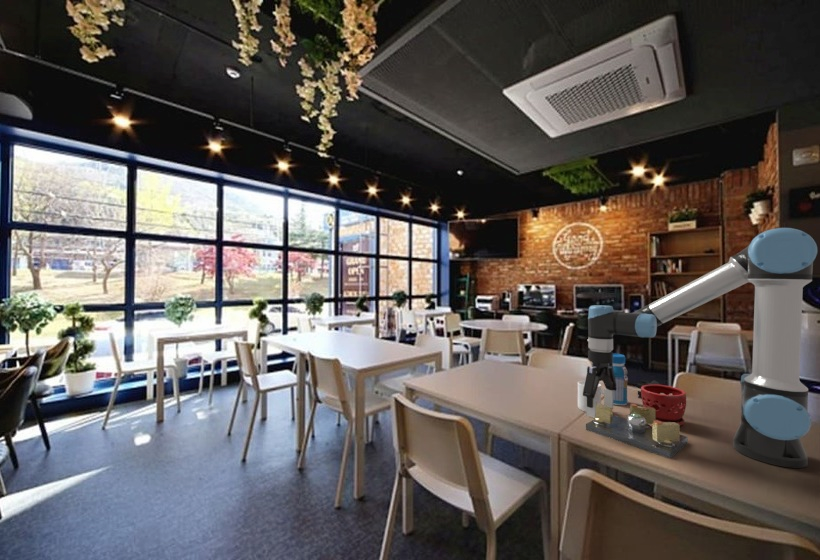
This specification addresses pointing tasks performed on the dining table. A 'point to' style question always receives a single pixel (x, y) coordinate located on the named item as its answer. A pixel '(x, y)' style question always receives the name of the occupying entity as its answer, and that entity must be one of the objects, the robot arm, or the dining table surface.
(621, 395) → the beverage bottle
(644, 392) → the plant pot
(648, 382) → the end cap
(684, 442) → the levelling plate
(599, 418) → the knob
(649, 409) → the knob rear
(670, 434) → the knob
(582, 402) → the mug
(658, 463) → the dining table surface
